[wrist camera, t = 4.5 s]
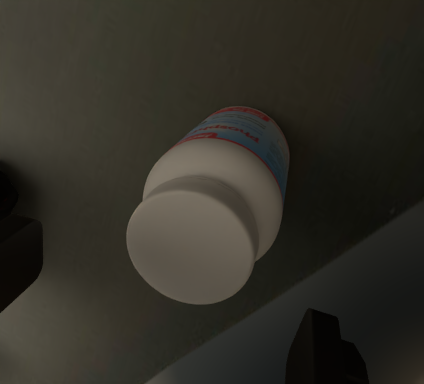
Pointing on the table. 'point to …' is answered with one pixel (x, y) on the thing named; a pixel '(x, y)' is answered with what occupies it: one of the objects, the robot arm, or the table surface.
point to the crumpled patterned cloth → (7, 196)
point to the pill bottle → (211, 207)
